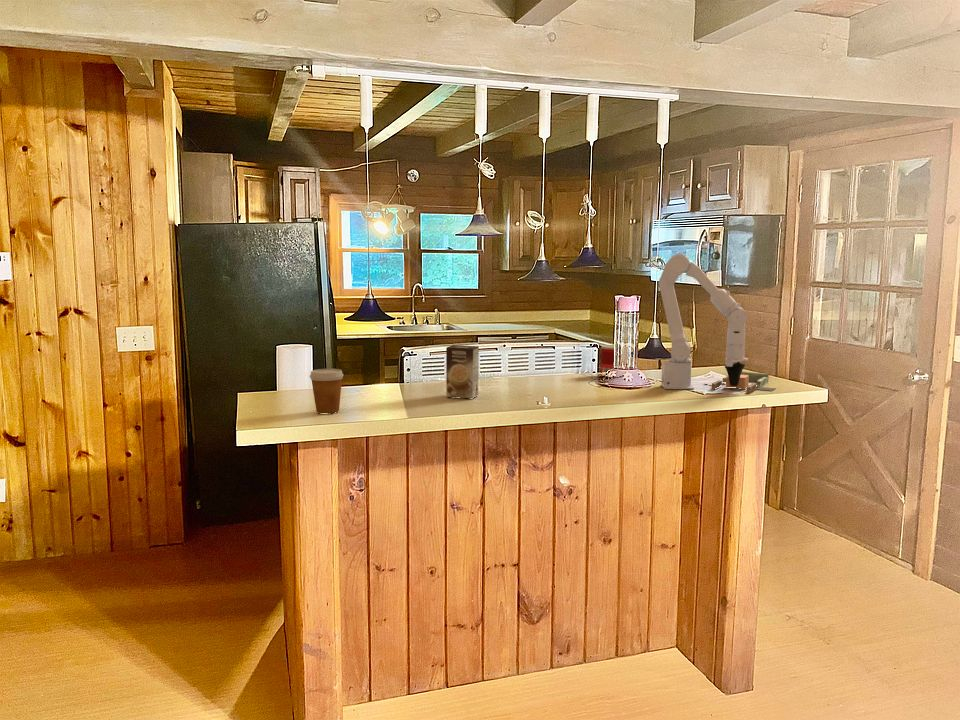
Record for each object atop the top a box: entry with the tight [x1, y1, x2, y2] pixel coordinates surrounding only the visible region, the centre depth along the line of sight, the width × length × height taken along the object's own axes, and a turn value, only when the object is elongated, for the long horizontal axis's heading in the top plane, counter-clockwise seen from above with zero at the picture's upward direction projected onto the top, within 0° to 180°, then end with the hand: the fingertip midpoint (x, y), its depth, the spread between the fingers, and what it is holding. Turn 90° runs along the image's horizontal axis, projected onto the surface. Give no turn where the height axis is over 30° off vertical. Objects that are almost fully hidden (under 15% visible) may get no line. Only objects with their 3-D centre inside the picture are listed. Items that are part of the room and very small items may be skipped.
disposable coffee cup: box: [309, 368, 344, 414], centre depth 218 cm, size 10×10×12 cm
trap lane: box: [710, 371, 770, 394], centre depth 257 cm, size 24×12×3 cm, turn 147°
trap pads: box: [755, 386, 777, 392], centre depth 256 cm, size 5×22×1 cm, turn 57°
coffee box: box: [445, 344, 480, 399], centre depth 239 cm, size 9×6×16 cm
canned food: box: [600, 344, 615, 374], centre depth 277 cm, size 8×8×11 cm
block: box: [725, 375, 750, 390], centre depth 254 cm, size 6×6×4 cm
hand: (733, 385), depth 250 cm, fingers closed
